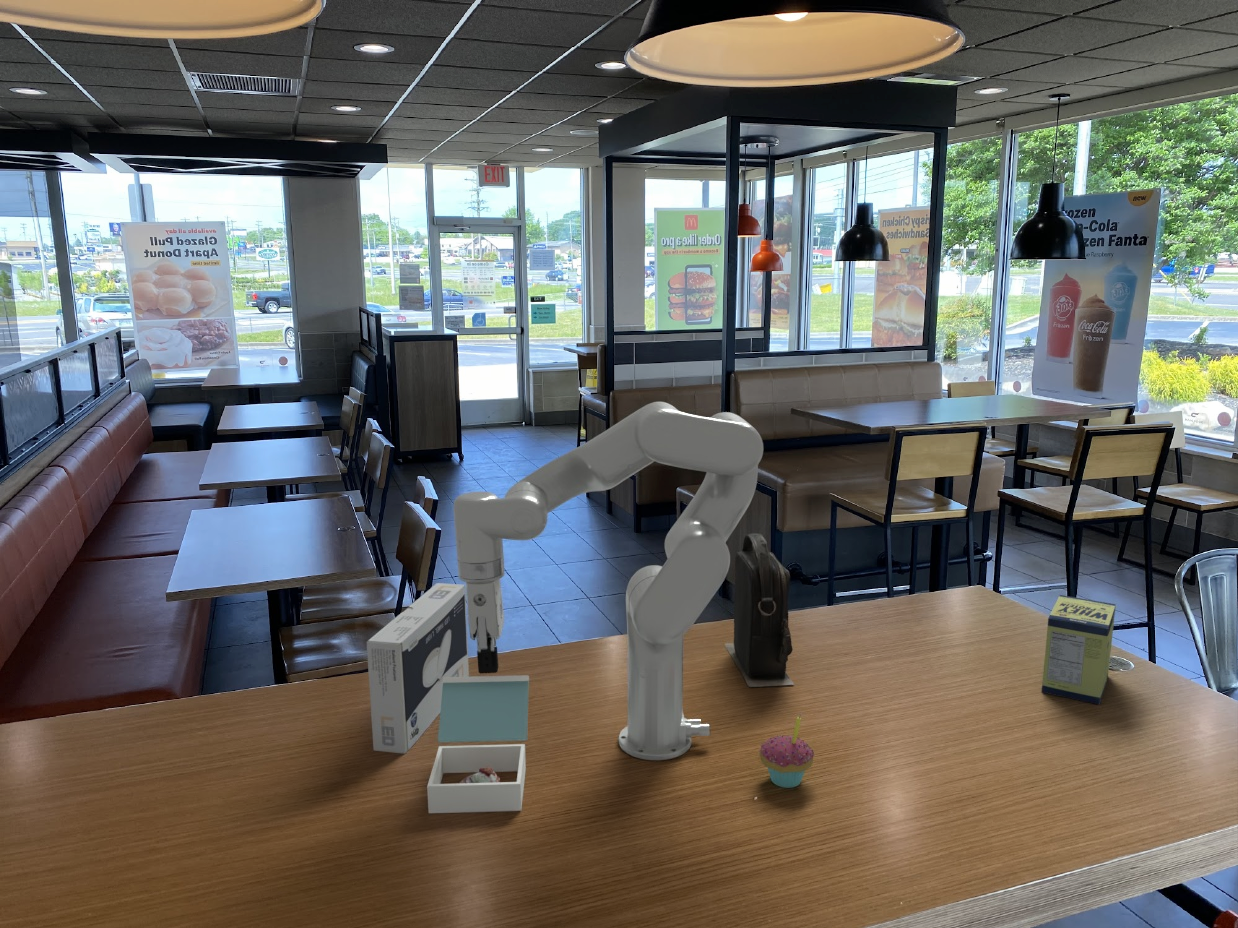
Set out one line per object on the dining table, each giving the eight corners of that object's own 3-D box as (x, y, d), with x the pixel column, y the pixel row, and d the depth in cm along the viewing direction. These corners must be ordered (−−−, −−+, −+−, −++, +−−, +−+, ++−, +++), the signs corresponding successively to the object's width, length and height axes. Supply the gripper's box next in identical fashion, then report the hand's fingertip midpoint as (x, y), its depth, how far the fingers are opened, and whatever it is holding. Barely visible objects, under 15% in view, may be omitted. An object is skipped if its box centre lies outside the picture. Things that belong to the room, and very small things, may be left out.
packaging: (406, 753, 156) (400, 643, 152) (373, 750, 157) (365, 641, 153) (469, 678, 185) (465, 584, 181) (441, 675, 187) (436, 582, 182)
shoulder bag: (723, 643, 202) (726, 520, 196) (764, 641, 203) (767, 519, 197) (749, 688, 180) (752, 552, 174) (794, 685, 181) (799, 550, 175)
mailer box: (525, 768, 151) (525, 743, 150) (521, 810, 139) (520, 783, 138) (440, 771, 151) (439, 746, 150) (428, 813, 139) (427, 786, 138)
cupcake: (815, 771, 150) (818, 703, 148) (808, 799, 142) (811, 728, 140) (763, 762, 153) (765, 696, 150) (753, 789, 145) (755, 719, 142)
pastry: (515, 798, 143) (514, 768, 142) (476, 817, 138) (474, 787, 137) (485, 778, 149) (483, 750, 148) (446, 796, 144) (444, 767, 143)
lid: (526, 738, 151) (527, 740, 151) (528, 675, 158) (528, 677, 158) (437, 740, 150) (438, 742, 151) (443, 676, 157) (444, 679, 158)
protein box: (1108, 675, 185) (1116, 602, 182) (1100, 706, 172) (1109, 628, 169) (1052, 664, 191) (1059, 593, 187) (1040, 692, 178) (1047, 617, 174)
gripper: (500, 581, 143) (507, 689, 147) (507, 552, 158) (514, 651, 162) (452, 583, 143) (460, 692, 147) (463, 554, 158) (471, 654, 162)
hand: (488, 670), depth 154 cm, fingers closed
